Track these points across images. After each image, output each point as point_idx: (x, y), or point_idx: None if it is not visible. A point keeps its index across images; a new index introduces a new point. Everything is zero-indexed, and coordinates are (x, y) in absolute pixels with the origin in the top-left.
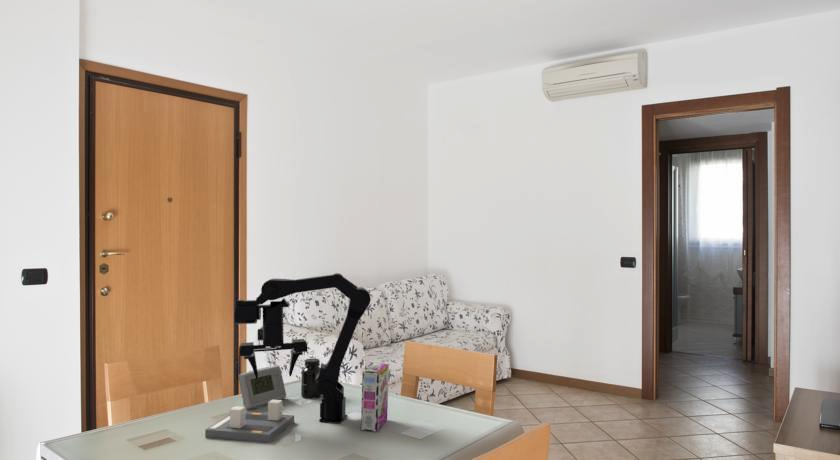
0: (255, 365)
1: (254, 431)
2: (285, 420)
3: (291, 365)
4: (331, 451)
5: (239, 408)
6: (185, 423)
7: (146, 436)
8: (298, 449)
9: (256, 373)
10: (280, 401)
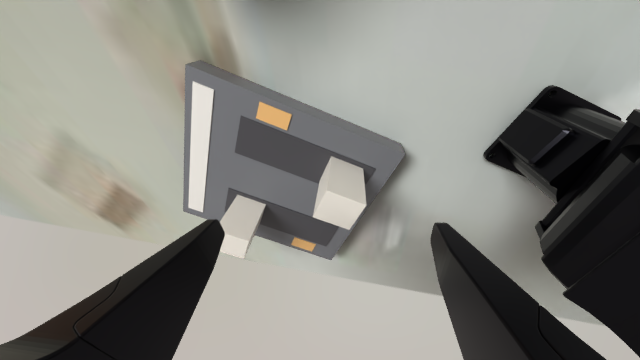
0: (168, 355)
1: (297, 242)
2: (371, 192)
3: (469, 356)
4: (439, 292)
5: (235, 248)
6: (74, 93)
7: (65, 172)
8: (384, 277)
9: (203, 276)
10: (358, 216)
